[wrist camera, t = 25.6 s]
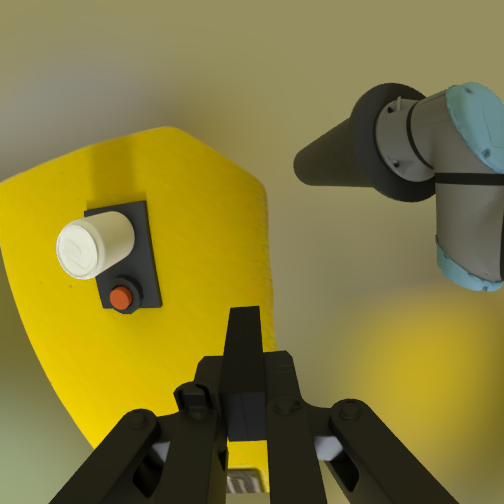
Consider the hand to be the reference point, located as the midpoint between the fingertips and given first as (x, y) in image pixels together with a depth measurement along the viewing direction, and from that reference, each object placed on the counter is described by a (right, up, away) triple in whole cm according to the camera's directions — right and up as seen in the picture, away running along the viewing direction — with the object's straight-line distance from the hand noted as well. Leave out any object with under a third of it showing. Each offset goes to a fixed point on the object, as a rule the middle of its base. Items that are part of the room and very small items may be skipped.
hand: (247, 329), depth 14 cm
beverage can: (-22, +7, +27) cm, 36 cm away
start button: (-21, -3, +28) cm, 36 cm away
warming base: (-22, +3, +29) cm, 37 cm away
